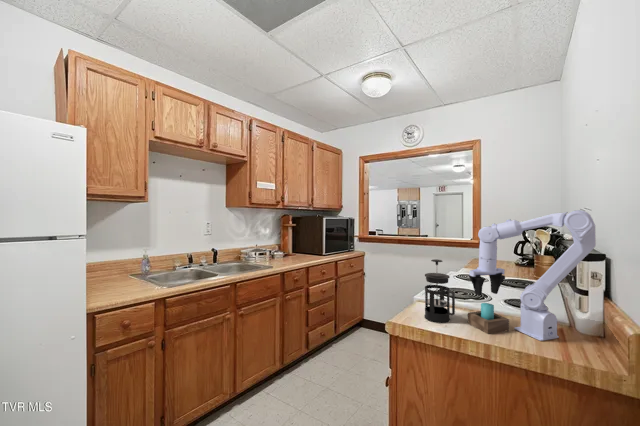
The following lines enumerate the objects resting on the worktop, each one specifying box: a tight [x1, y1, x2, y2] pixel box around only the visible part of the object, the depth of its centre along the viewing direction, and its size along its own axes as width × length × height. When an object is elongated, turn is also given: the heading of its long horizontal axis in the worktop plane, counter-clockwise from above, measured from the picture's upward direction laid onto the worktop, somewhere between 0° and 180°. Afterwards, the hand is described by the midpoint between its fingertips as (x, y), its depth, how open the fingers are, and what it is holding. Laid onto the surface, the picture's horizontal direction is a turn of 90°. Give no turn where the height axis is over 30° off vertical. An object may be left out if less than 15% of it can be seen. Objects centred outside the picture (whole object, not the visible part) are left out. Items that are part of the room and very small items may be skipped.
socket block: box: [467, 310, 510, 335], centre depth 101 cm, size 9×9×4 cm
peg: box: [480, 302, 495, 320], centre depth 101 cm, size 4×4×8 cm
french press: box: [423, 258, 456, 324], centre depth 109 cm, size 12×9×23 cm
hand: (486, 293), depth 105 cm, fingers open, 7 cm apart
